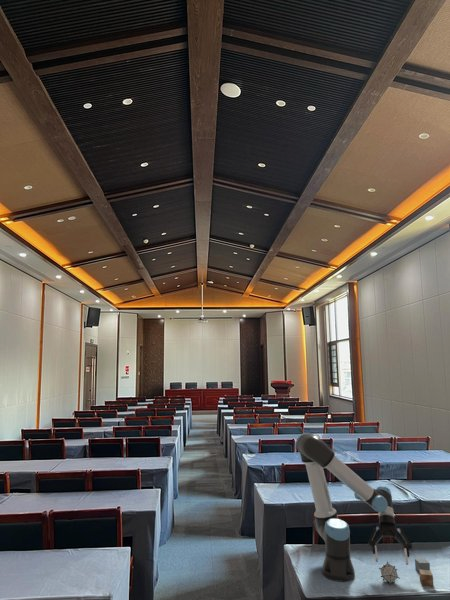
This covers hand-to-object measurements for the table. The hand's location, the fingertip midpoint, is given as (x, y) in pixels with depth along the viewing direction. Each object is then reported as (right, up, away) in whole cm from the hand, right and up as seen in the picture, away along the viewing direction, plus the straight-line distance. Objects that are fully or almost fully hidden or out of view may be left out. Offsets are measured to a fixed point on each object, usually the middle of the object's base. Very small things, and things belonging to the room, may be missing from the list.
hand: (391, 562), depth 209 cm
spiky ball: (-2, -7, -3) cm, 8 cm away
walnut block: (+14, -7, -5) cm, 17 cm away
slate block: (+18, -9, +8) cm, 21 cm away
